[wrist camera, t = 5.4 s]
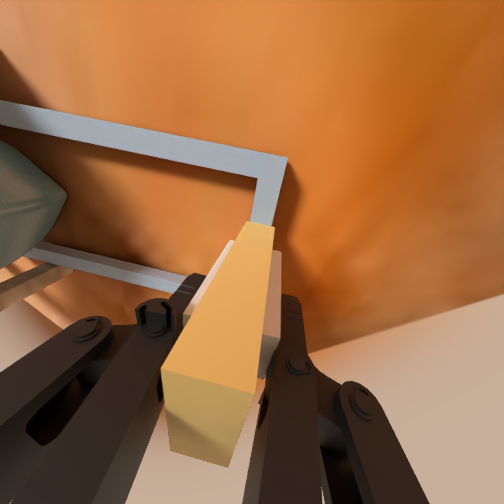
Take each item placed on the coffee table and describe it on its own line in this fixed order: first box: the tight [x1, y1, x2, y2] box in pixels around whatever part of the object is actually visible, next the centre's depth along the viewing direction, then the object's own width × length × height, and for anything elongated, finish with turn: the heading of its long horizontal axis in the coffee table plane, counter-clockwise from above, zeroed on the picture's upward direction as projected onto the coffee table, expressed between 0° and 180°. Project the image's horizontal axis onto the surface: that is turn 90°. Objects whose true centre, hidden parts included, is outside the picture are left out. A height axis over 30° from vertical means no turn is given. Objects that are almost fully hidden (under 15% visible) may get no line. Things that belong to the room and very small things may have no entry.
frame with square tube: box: [0, 100, 288, 467], centre depth 11 cm, size 14×28×12 cm, turn 80°
